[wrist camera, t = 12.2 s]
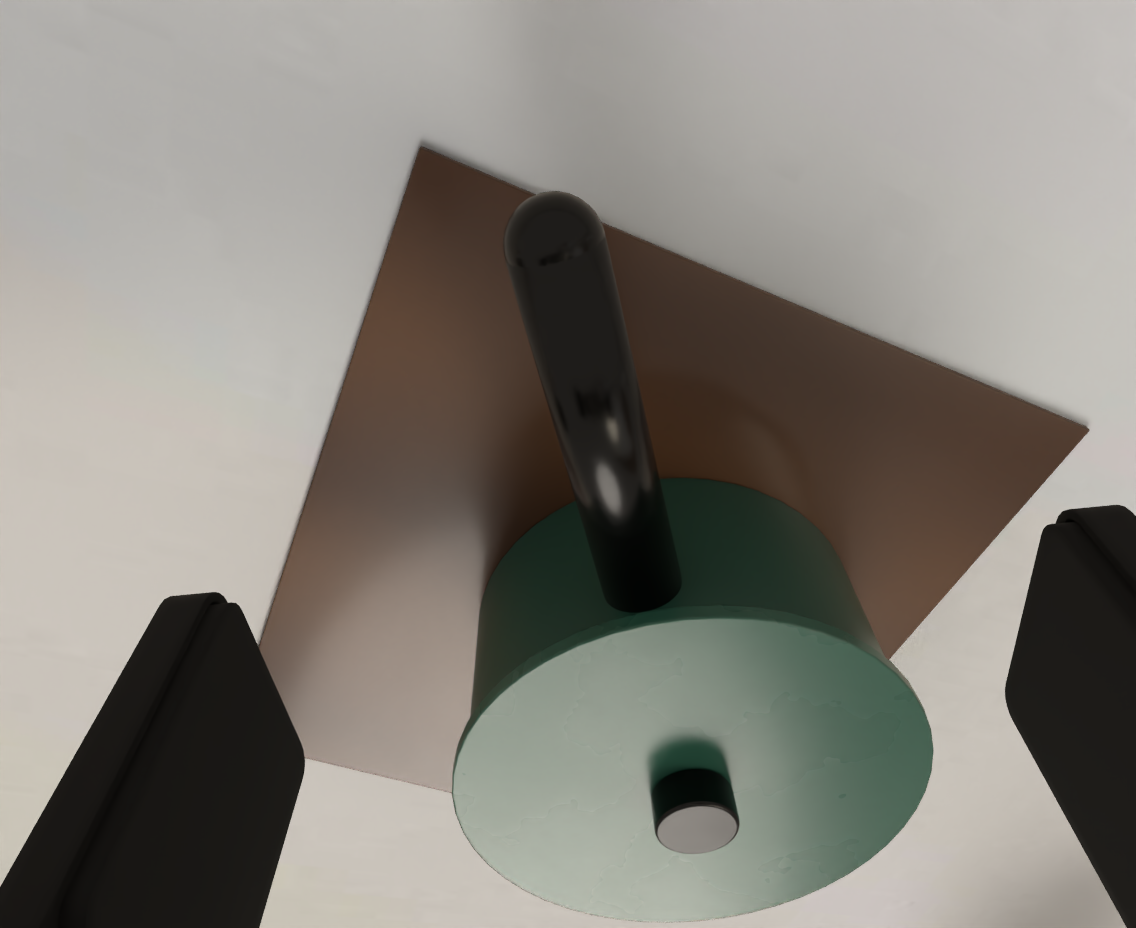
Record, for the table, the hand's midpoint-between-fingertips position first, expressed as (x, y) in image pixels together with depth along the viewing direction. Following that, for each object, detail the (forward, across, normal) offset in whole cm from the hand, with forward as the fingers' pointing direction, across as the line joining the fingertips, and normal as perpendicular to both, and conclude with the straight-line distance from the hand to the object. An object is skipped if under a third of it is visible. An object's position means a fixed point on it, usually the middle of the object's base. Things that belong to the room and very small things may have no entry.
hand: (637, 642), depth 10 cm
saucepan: (+11, 0, +7) cm, 13 cm away
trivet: (+11, +1, +10) cm, 15 cm away
